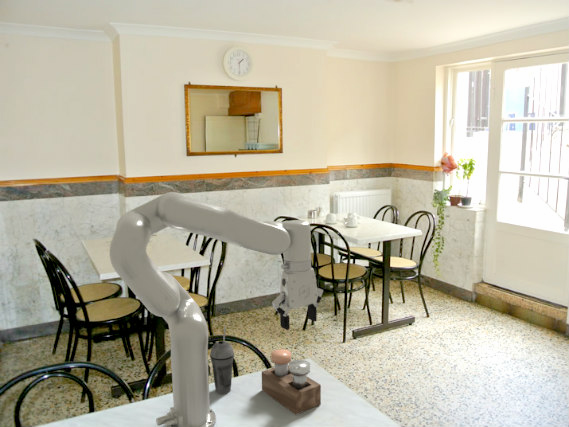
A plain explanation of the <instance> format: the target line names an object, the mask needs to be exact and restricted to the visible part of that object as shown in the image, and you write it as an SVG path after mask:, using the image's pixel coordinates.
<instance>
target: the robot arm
mask: <svg viewBox="0 0 569 427" xmlns="http://www.w3.org/2000/svg"><path fill="white" fill-rule="evenodd" d="M168 227H169V228H171V229H176V230H179V231H184V232H187V233H190V234H191V233H192V234H195V235H198V236H203V237H206V238H211V239H214V240H217V241H221V242H224V243H227V244H231V245H235V246H238V247H240V248H243V249H247V250H251V251H253V252H258V253H262V254H267V255H271V256H278V255H282V254H283V264H280V268H281V269H282V270H283V271H281V272H282V273H281V279H280V294H279V295H278V296H276V298H275V299H274V300H272V302H271V306H272V307H273V308H274V311H275V312H276V313H278V315H279V316H280V317H279V321H280V322H279V324H280V328H282V329H284V330H286V331H288V330H290V327H291V326H290V316H289V315H288V314H289V313H290V311H291V310H296V309H300V308H302V307H306V306H307V318H308V320H310V321H312V322H317V320H318V317H317V316H318V315H317V314H318V312H317V311H318V310H317V308H318V307H319V303H320V302H321V300H322V296H323V293H324V289H322V288H319V287H318V286H317V277H316V273H315V270H314V268H313V267H312V246H311V244H312V243H311V242H312V240H311V238H312V237H311V224H310V222H308V221H306V220H302V219H293V220H288V221H272V220H264V221H262V222H261V221H258V220H255V219H253V218H249V217H246V216H244V215H241V214H240V213H237V212H235V211H234V210H232V209H229V208H227V207H224V206H221V205H216V204H212V203H210V202H205V201H202V200H198V199H196V198H191V197H188V196H184V195H183V194H182V193H179V192H176V191H170V192H165V193H164V194H161V195H159V196H157V197H155V198H154V199H151V200H150V201H148V202H146V203H143V204H141V205H139V206H137V207H135V208H133V209H131V210H129V211H127V212H125V213H123V214H122V215H121V216H120V217H119V219H118V220H117V222H116V226H115V230H114V234H113V236H112V239H111V241H110V246H109V258H110V259H109V260H110V263H111V266H112V268H113V270H114V271H115V272H116V274H117V275H118V276H119V278H121V280H122V281H123V282H124V283H125V285H127V287H128V288H129V289H130V291H132V293H133V294H134V295H135V296H136V297H137V298H138V300H139V301H140V302H141V303H142V305H144V307H145V308H146V309H147V310H148V311H149V312H150V313H151V314H152V315H154V316H156V317H162V318H163V320H164V321H165V323H166V324H167V325H168V330H169V338H170V339H169V340H170V362H171V363H170V365H171V379H172V382H171V384H172V397H173V399H172V400H173V407H170V408H169V412H168V413H167V414H166V415H162V416H159V417H157V418H156V419H155V420H156V421H155V422H156V425H157V426H162V425H164V427H213V426H214V425H215V423H216V421H217V417H216V416H217V414H216V412H215V411H214V410H213V409H211V407H210V405H211V404H210V402H211V401H210V384H209V383H210V381H209V378H210V377H209V360H208V359H209V358H208V357H209V356H208V353H209V352H208V351H209V328H208V324H207V320H206V319H205V318H206V317H205V316H204V314H203V312H202V310H201V308H200V305H198V303H197V302H196V301H195V299H193V298H192V296H191V295H190V294H189V293H188V292H187V291H186V289H185V288H184V287H183V286H182V285H181V283H180V282H179V281H178V280H177V279H176V278H175V276H173V275H172V274H170V273H169V272H166V271H162V270H161V269H160V268H159V267H158V266H157V264H156V263H155V262H154V261H153V259H152V258H150V257H149V255H148V253H147V247H148V245H149V243H150V240H151V238H152V236H153V235H154V234H157V233H159V232H161V231H163V230H164V229H166V228H168ZM280 304H281V305H280Z"/></svg>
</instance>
